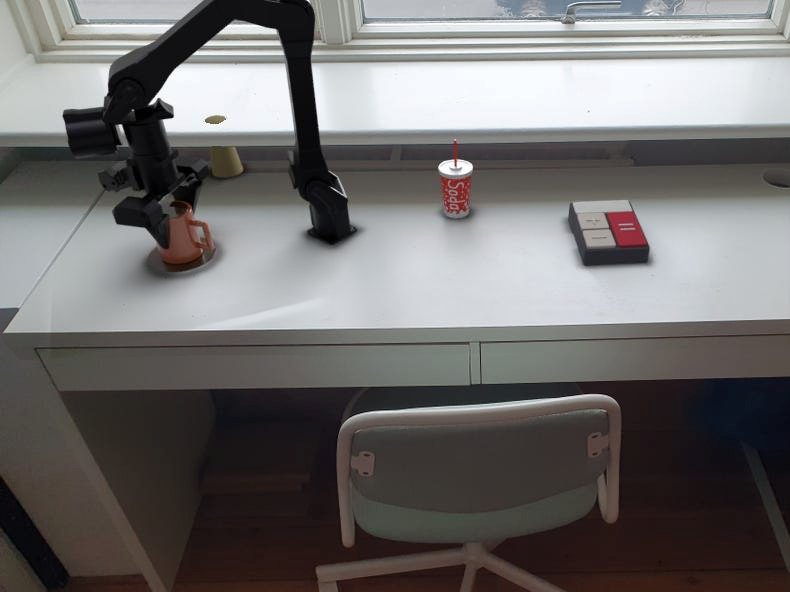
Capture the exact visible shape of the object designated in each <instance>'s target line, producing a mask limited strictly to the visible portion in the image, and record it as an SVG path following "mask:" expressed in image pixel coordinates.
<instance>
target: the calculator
mask: <svg viewBox="0 0 790 592" xmlns="http://www.w3.org/2000/svg"><path fill="white" fill-rule="evenodd" d="M568 207H569V208H568V216H567V222H568V225H569V227H570V231H572V234H573V236H574V239H575V243H576V246H577V249H578V252H579V255H580V258H581V262H582V264H583V266H595V265H599V266H600V265H619V264H621V265H622V264H640V263H641V264H643V263H648V260H649V255H650V250H651V246H650V244H649V242H648V239H647V237H646V235H645V233H644V230H643V228H642V226H641V223H640V221H639V219H638V216H637V214H636V212H635V210H634V208H633V205H632V203H631V201H630V200H628V199H619V200H617V199H616V200H615V199H613V200H590V201H573V202H570V203H569V206H568Z"/></svg>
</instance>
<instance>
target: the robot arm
mask: <svg viewBox="0 0 790 592" xmlns="http://www.w3.org/2000/svg"><path fill="white" fill-rule="evenodd" d="M234 21H241V22H246V23H249V24H252V25H256V26H260V27H262V28H266V29H272V30H276V35H277V37H278V41H279V44H280V46H281V50H282V52H283V58H284V63H285V64H284V65H285V72H286V79H287V81H286V82H287V87H288V95H289V103H290V109H291V118H292V125H293V132H294V143H295V144H294V147H293V150H285V154H286V157H287V160H288V170H287V172H288V175H289V179H290V181H291V184H292V188H293V190H297V192H298V194H299V197H300V198H301V199H303V200H304V201H305V202H307V203H309V205H308V208H309V214H310V221H311V226H312V227H310V228H309V229H307V230H306V234H307V235H309V236H311V237H313V238H315V239H317V240H319V241H322V242H324V243H326V244H328V245H330V246H331V245H335V244H338V242H340V241H342V240H344V239H345V238H347V237H349V236H350V235H352V234H354V233H356V232H357V231H358V227H357V226H356V225H353V224H351V223H350V222H351V221H350V215H349V206H348V203H349V198H348V196H347V193H346V191H345V189H344V187H343V185H342V182H341V180H340V178H339V176H337V175H336V174H335V173H333V172H332V171H330V170H329V167H328V164H327V161H326V158H325V155H324V151H323V149H322V145H321V137H320V135H321V134H320V127H319V118H318V110H317V101H316V100H317V99H316V92H315V83H314V75H313V66H312V54H313V48H314V43H315V32H316V14H315V9H314V7H313V6H312V3H311V2H310V0H201V2H199V3H198V4H197V5H196V6H195V7H193V9H191V10H190V11H189V12H187V14H185V15H184V16H182V18H181V19H179V20H178V21H176V23H174V25H172V26H171V27H170V28H169V29H167V30H166V31H165V32H163V34H161V35H160V36H159V37H158V38H156V39H155V40H154V41H152V42H150V43H148V44H146V45H144V46H141V47H137V48H135V49H133V50H131V51H129V52H127V53H126V54H124V55H122V56H120V57H118V58H117V59H115V60H114V61H112V63H111V64H110V66H109V68H108V77H107V79H108V80H107V93H106V95H105V96H103V104H102V105H103V106H97V107H88V108H68V109H67V108H66V109H63V111H62V116H61V117H62V120H63V122H64V127H65V133H66V136H67V145H68V147H69V149H70V152H71V154H72V156H73V157H74V158H75V159H77V160H78V159H84V158H85V159H86V158H91V157H100V156H101V157H102V156H108V155H116V154H118V151H119V147H121V146H123V145H124V141H123V135H122V132H121V128H120V126H121V127H122V130H123V133H124V137H125V139H126V141H127V145H128V148H129V151H130V155H129V156H128V157H127V158H126V159H125V160H122V161H119V162H117V163H115V164H114V165H113V166H108V167H107V168H106V167H104V168H102V169H101V170H100V171H98V172H97V177H98V181H99V184H100V185H101V186H102V188H103V189H104V191H106V192H114V193H119V192H121V191H122V190H126V189H129V188H131V189H132V192H142V191H143V192H144V193H145V195H143V197H140V196H132V195H127V196H126V197H125V198H124V199H122V200H121V201H120V202H118V204H116V205H115V206H114V207H113V209H112V210H111V213H112V216H113V219H114V222H115V224H116V225H119V226H125V227H134V228H142V229H145V230H146V231H147V232H148V233H149V235H151V237H152V238H153V240H154V241H155V240H156V241H157V243H158V244H159V245H160V246H161V247H162V248H163V249H169V245H170V227H169V214H165V213H163V210H162V206H161V205H160V203H162V202H164V201H165V200H166V199H167V198H168V197H169V196H170V195H172V197H173V201H174V200H177V201H184V202H187V203H189V204H190V205H191V207H192V211H193V214H194V215H195V213H196V209H197V206H198V201H199V198H200V194H201V191H202V189H203V186H204V184H205V183H204V180H206V178H207V177H209V176H210V175H211V172H210V168H209V164H208V163H207V162H206V161H205V160H204V159H203V158H202V157H195V156H186V155H185V156H184V155H180V153H179V150H178V148H172V147H171V144H170V141H169V136H168V133H167V130H166V126H165V122H164V120H172V119H174V118H175V110H174V106H173V105H172V104H170V103H168V102H165V101H164V100H163V99H162V98H161V97H157V98H156V96H157V95H158V94H159V92H160V91H161V90H162V89H163V87H164V85H165V84H166V82H167V80H168V79H169V77H170V76H171V75H172V73H173V72H174V71H175V70H176V69H177V68H178V67H179V66H180V65H182V64H183V63H184V62H185V61H187V60H188V59H189V58H190V57H191V56H193V55H194V54H195V53H197V52H198V51H199V50H200V49H201V48H202V47H203V46H205V45H206V44H207V43H209V42H210V41H211V40H212V39H213V38H214V37H216V36H217V35H218V34H219V33H220V32H222V31H223V30H225V28H226V27H228V26H230V24H231V23H233V22H234ZM155 98H156V100H155V101H154V102H153V103H152V101H153V100H154V99H155ZM151 103H152V104H151ZM156 241H155V242H156Z"/></svg>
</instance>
